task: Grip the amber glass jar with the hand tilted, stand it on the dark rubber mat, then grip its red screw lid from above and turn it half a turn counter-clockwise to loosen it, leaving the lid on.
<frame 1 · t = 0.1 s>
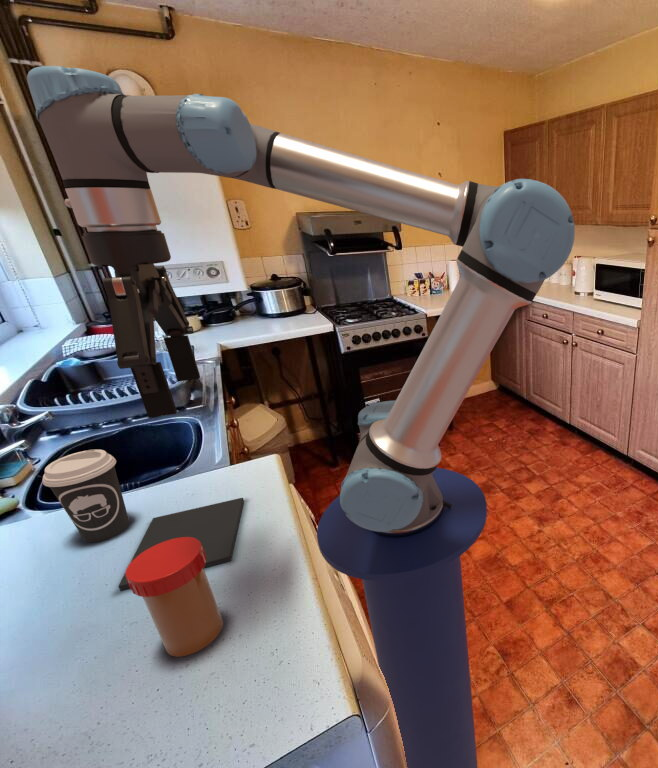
hand: (177, 395, 59), 32 cm above the countertop, tool pointing down, fingers open, 13 cm apart
coffee cup: (107, 531, 82), on the countertop
lid: (165, 561, 56), point 13 cm above the countertop, screwed on, not yet turned
mat: (190, 540, 78), on the countertop
jar: (195, 634, 61), on the countertop
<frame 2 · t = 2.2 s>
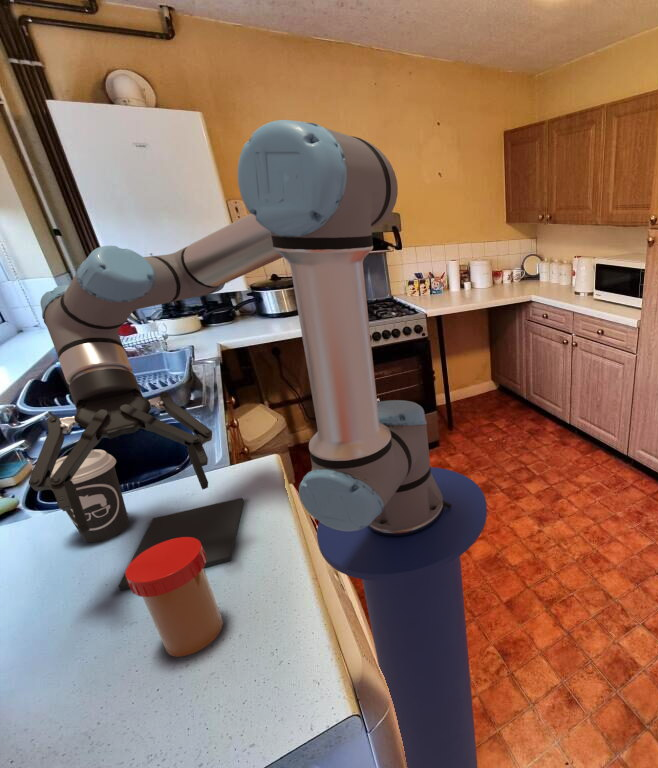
hand: (149, 506, 62), 16 cm above the countertop, tool tilted 45°, fingers open, 13 cm apart
nothing on the countertop moved.
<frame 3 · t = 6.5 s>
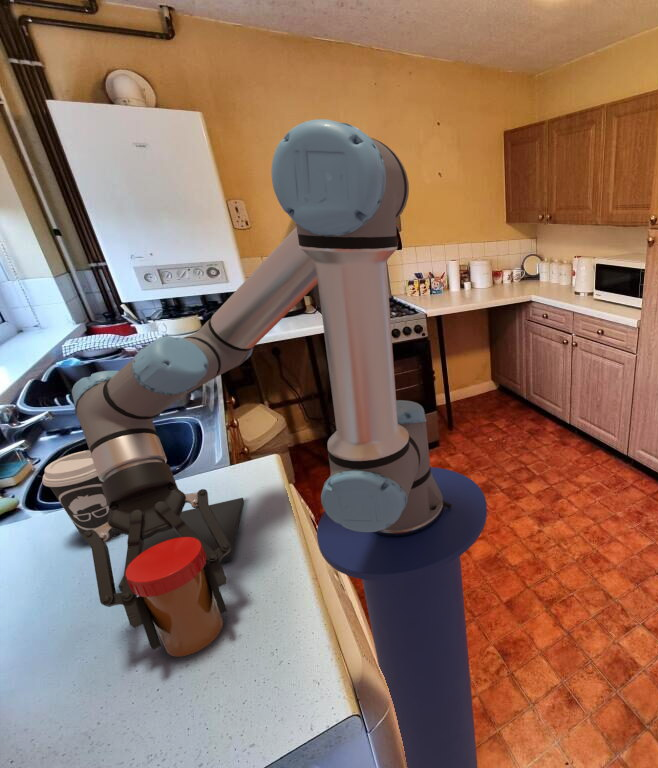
hand: (191, 628, 57), 4 cm above the countertop, tool tilted 45°, fingers closed on jar, 7 cm apart
jar: (195, 634, 61), on the countertop, touching gripper
everything else where it was.
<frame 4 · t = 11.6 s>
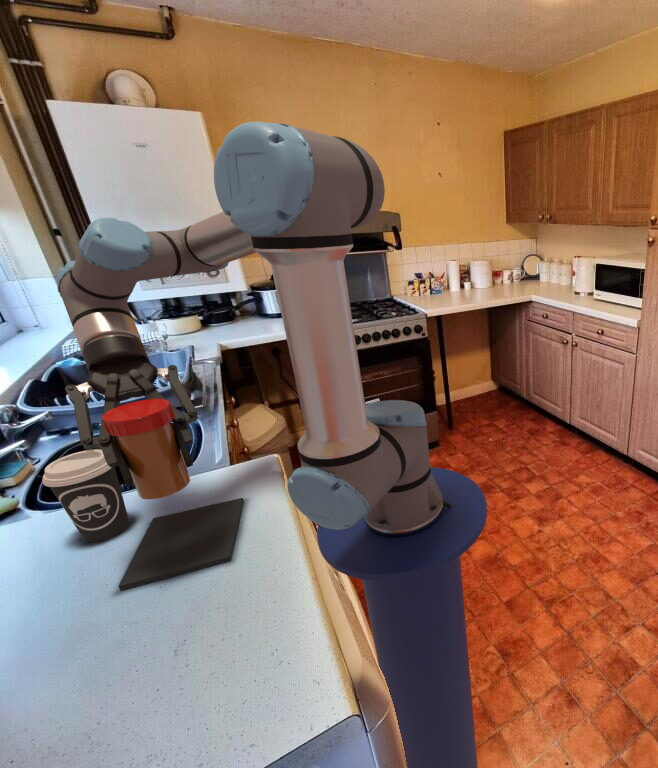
hand: (160, 472, 65), 19 cm above the countertop, tool tilted 45°, fingers closed on jar, 7 cm apart
lid: (137, 412, 64), point 27 cm above the countertop, screwed on, not yet turned
jar: (165, 486, 69), point 14 cm above the countertop, touching gripper
everything else where it was.
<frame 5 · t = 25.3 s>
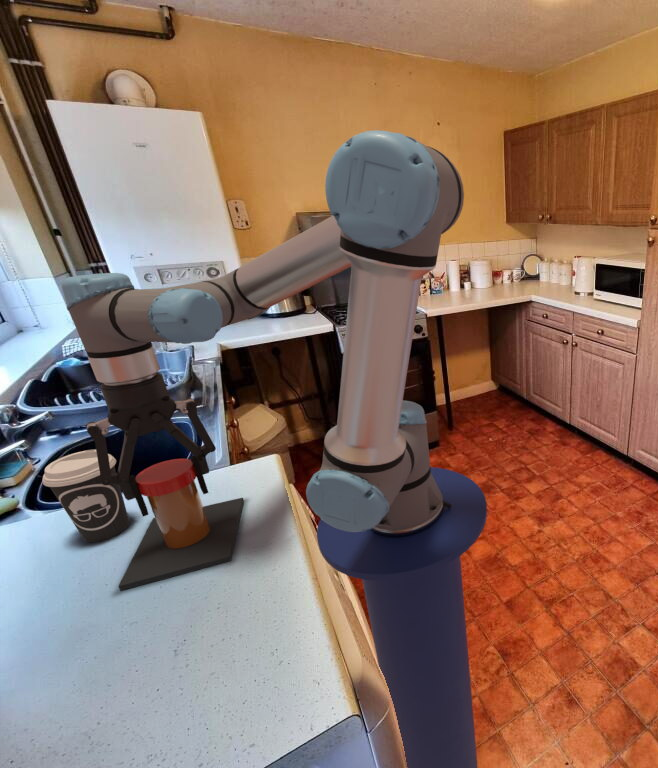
hand: (175, 500, 75), 9 cm above the countertop, tool pointing down, fingers closed on lid, 8 cm apart
lid: (165, 473, 73), point 14 cm above the countertop, screwed on, not yet turned, touching gripper
jar: (188, 535, 78), point 1 cm above the countertop, touching mat
everything else where it was.
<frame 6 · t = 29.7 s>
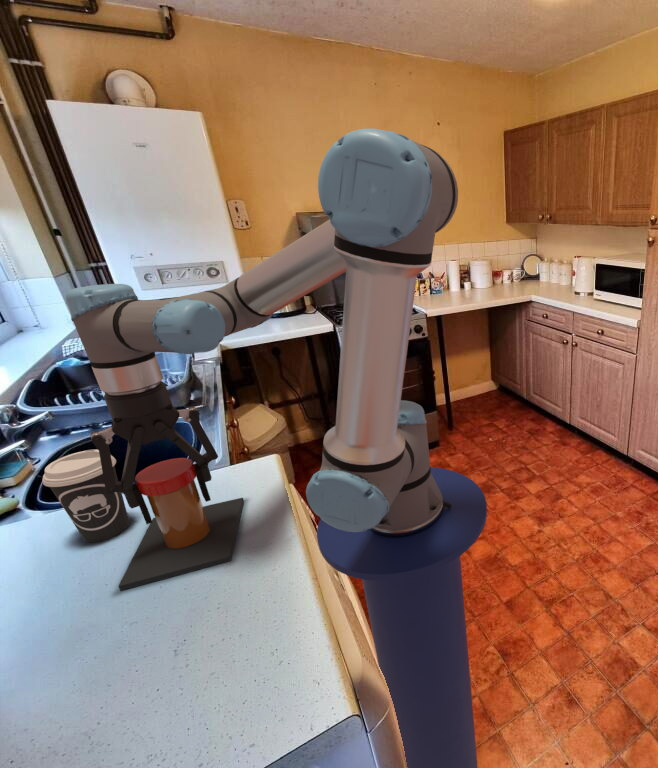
hand: (178, 508, 76), 7 cm above the countertop, tool pointing down, fingers closed on lid, 8 cm apart
lid: (165, 472, 73), point 14 cm above the countertop, turned 90° so far, risen 0.1 cm, still on its thread, touching gripper
everything else where it was.
when the fingers open (7 cm above the countertop, at t = 31.3 s): lid stays where it is, point 14 cm above the countertop.
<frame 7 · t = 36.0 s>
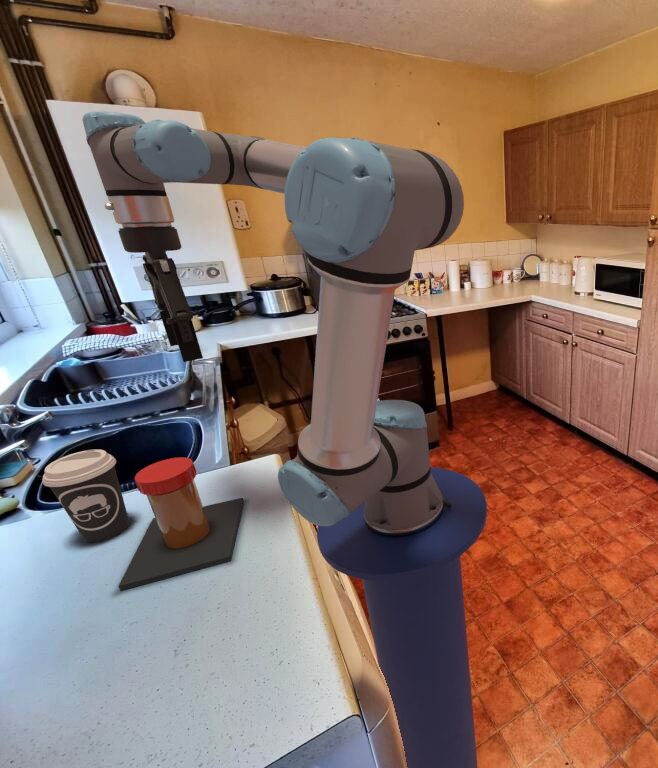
hand: (185, 351, 78), 32 cm above the countertop, tool pointing down, fingers open, 13 cm apart
lid: (165, 471, 73), point 14 cm above the countertop, turned 179° so far, risen 0.2 cm, still on its thread
everything else where it was.
at the end: jar inside the target area on the mat (0.1 cm from its centre), point 1.0 cm above the mat's base; lid turned 0.50 turns (still on its thread); lid is still on its thread (0.50 turns) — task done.
